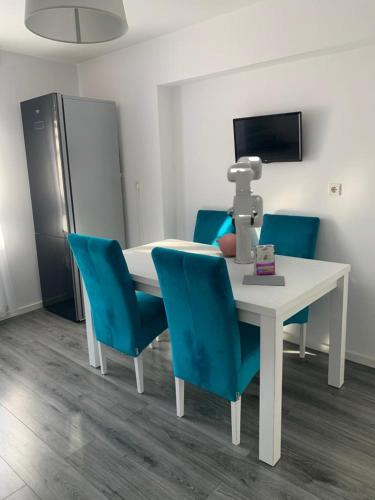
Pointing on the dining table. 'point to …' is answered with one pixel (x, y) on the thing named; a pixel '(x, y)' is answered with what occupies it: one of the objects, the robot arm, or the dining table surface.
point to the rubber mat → (263, 280)
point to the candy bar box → (264, 259)
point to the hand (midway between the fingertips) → (242, 225)
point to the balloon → (227, 244)
